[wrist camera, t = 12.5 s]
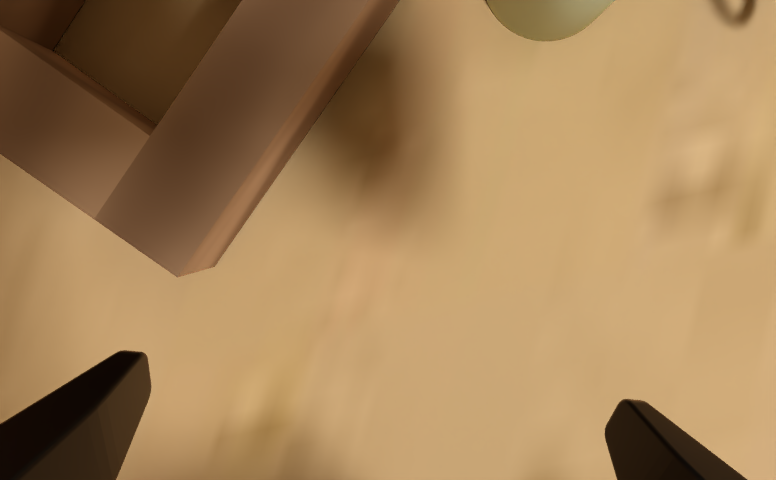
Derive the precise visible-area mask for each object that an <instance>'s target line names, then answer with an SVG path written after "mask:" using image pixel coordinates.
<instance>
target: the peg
mask: <svg viewBox="0 0 776 480" xmlns="http://www.w3.org/2000/svg"><path fill="white" fill-rule="evenodd" d="M486 1H487V3H488V5H489V7H490V9H491V11H492V12H493V14H494V15H495V16H496V18H497V19H498V20H499V21H500V22H501V23H502V24H503V25H504V26H505V27H506V28H508V29H509V30H510V31H512V32H514V33H516V34H517V35H519V36H522V37H524V38H527V39H531V40H536V41H555V40H561V39H564V38H568V37H570V36H572V35H575V34H577V33H578V32H580V31H582V30H583V29H585V28H586V27H587V26H588V25H590V24H591V23H592V22H593V21H594V20H595V19H596V18H597V17H598V16H599V15H600V14H601V13H602V12H603V11H604V10H605V9H607V8H608V7H609V6H610V5H611V4H612V3H613V2H614V1H615V0H486Z"/></svg>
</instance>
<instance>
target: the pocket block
mask: <svg viewBox="0 0 776 480" xmlns="http://www.w3.org/2000/svg"><path fill="white" fill-rule="evenodd" d="M84 2H85V0H0V154H2V155H3V156H4V157H6V158H7V159H9V160H10V161H12V162H13V163H14V164H16V165H17V166H19V167H20V168H22V169H23V170H24V171H26V172H27V173H29V174H30V175H32V176H33V177H34V178H36V179H37V180H39V181H40V182H42V183H43V184H45V185H46V186H47V187H49V188H50V189H52V190H53V191H55V192H56V193H57V194H59V195H60V196H62V197H63V198H65V199H66V200H67V201H69V202H70V203H72V204H73V205H75V206H76V207H77V208H79V209H80V210H82V211H83V212H85V213H86V214H87V215H89V216H90V217H92V218H93V219H95V220H96V221H98V222H99V223H100V224H102V225H103V226H105V227H106V228H108V229H109V230H110V231H112V232H113V233H115V234H116V235H118V236H119V237H120V238H122V239H123V240H125V241H126V242H128V243H129V244H130V245H132V246H133V247H135V248H136V249H138V250H139V251H140V252H142V253H143V254H145V255H146V256H148V257H149V258H151V259H152V260H153V261H155V262H156V263H158V264H159V265H161V266H162V267H163V268H165V269H166V270H168V271H169V272H171V273H172V274H173V275H175V276H176V277H180V276H184V275H187V274H191V273H194V272H197V271H201V270H204V269H208V268H211V267H214V266H215V265H216V264H217V262H218V261H219V259H220V258H221V256H222V255H223V254H224V252H225V251H226V249H227V248H228V246H229V245H230V243H231V242H232V241H233V239H234V238H235V236H236V235H237V233H238V232H239V231H240V229H241V228H242V226H243V225H244V223H245V222H246V220H247V219H248V218H249V216H250V215H251V213H252V212H253V210H254V209H255V208H256V206H257V205H258V203H259V202H260V200H261V199H262V197H263V196H264V195H265V193H266V192H267V190H268V189H269V187H270V186H271V184H272V183H273V182H274V180H275V179H276V177H277V176H278V174H279V173H280V172H281V170H282V169H283V167H284V166H285V164H286V163H287V161H288V160H289V159H290V157H291V156H292V154H293V153H294V151H295V150H296V149H297V147H298V146H299V144H300V143H301V141H302V140H303V138H304V137H305V136H306V134H307V133H308V131H309V130H310V128H311V127H312V126H313V124H314V123H315V121H316V120H317V118H318V117H319V115H320V114H321V113H322V111H323V110H324V108H325V107H326V105H327V104H328V103H329V101H330V100H331V98H332V97H333V95H334V94H335V92H336V91H337V90H338V88H339V87H340V85H341V84H342V82H343V81H344V79H345V78H346V77H347V75H348V74H349V72H350V71H351V69H352V68H353V67H354V65H355V64H356V62H357V61H358V59H359V58H360V56H361V55H362V54H363V52H364V51H365V49H366V48H367V46H368V45H369V44H370V42H371V41H372V39H373V38H374V36H375V35H376V33H377V32H378V31H379V29H380V28H381V26H382V25H383V23H384V22H385V21H386V19H387V18H388V16H389V15H390V13H391V12H392V10H393V9H394V8H395V6H396V5H397V3H398V2H399V0H242V1H241V2H240V4H239V5H238V7H237V8H236V10H235V11H234V13H233V14H232V15H231V17H230V18H229V20H228V21H227V23H226V24H225V26H224V27H223V29H222V30H221V32H220V33H219V35H218V36H217V38H216V39H215V41H214V42H213V44H212V45H211V47H210V48H209V50H208V51H207V53H206V54H205V55H204V57H203V58H202V60H201V61H200V63H199V64H198V66H197V67H196V69H195V70H194V72H193V73H192V75H191V76H190V78H189V79H188V81H187V82H186V84H185V85H184V87H183V88H182V90H181V91H180V93H179V94H178V95H177V97H176V98H175V100H174V101H173V103H172V104H171V106H170V107H169V109H168V110H167V112H166V113H165V115H164V116H163V118H162V119H161V121H160V122H159V124H158V125H156V124H155V123H153V122H152V121H150V120H149V119H148V118H146V117H145V116H143V115H142V114H141V113H139V112H138V111H136V110H135V109H134V108H132V107H131V106H129V105H128V104H126V103H125V102H124V101H122V100H121V99H119V98H118V97H117V96H115V95H114V94H112V93H111V92H110V91H108V90H107V89H105V88H104V87H103V86H101V85H100V84H98V83H97V82H95V81H94V80H93V79H91V78H90V77H88V76H87V75H86V74H84V73H83V72H81V71H80V70H79V69H77V68H76V67H74V66H73V65H72V64H70V63H69V62H67V61H66V60H64V59H63V58H62V57H60V56H59V55H57V54H56V53H55V52H53V51H52V50H53V49H54V47H55V46H56V44H57V43H58V41H59V40H60V38H61V37H62V35H63V34H64V32H65V31H66V29H67V28H68V26H69V24H70V23H71V21H72V20H73V18H74V17H75V15H76V14H77V12H78V11H79V9H80V8H81V6H82V5H83V3H84Z"/></svg>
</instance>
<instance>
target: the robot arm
mask: <svg viewBox="0 0 776 480" xmlns="http://www.w3.org/2000/svg"><path fill="white" fill-rule="evenodd" d="M150 393H151V380H150V372H149V364H148V358H147V355H146V354H145V353H143V352H136V351H126V350H123V351H119V352H117V353H115V354H113V355H112V356H110V357H108V358H107V359H105V360H104V361H102V362H100V363H99V364H97V365H95V366H94V367H92V368H91V369H89V370H87V371H86V372H84V373H82V374H81V375H79V376H78V377H76V378H74V379H73V380H71V381H69V382H68V383H66V384H65V385H63V386H61V387H60V388H58V389H56V390H55V391H53V392H52V393H50V394H48V395H47V396H45V397H43V398H42V399H40V400H39V401H37V402H35V403H34V404H32V405H30V406H29V407H27V408H26V409H24V410H22V411H21V412H19V413H17V414H16V415H14V416H13V417H11V418H9V419H8V420H6V421H4V422H3V423H1V424H0V480H116V478H117V476H118V474H119V471H120V469H121V466H122V464H123V462H124V459H125V457H126V454H127V452H128V449H129V447H130V444H131V442H132V439H133V437H134V434H135V432H136V429H137V427H138V424H139V422H140V419H141V417H142V415H143V412H144V410H145V407H146V405H147V402H148V400H149V397H150ZM605 439H606V443H607V446H608V450H609V453H610V457H611V460H612V463H613V467H614V470H615V474H616V477H617V480H747V479H746V478H745V477H743V476H742V475H741V474H739V473H738V472H737V471H735V470H734V469H733V468H731V467H730V466H729V465H728V464H726V463H725V462H724V461H722V460H721V459H720V458H718V457H717V456H716V455H715V454H713V453H712V452H711V451H709V450H708V449H707V448H705V447H704V446H703V445H701V444H700V443H699V442H698V441H696V440H695V439H694V438H692V437H691V436H690V435H688V434H687V433H686V432H685V431H683V430H682V429H681V428H679V427H678V426H677V425H675V424H674V423H673V422H672V421H670V420H669V419H668V418H666V417H665V416H664V415H662V414H661V413H660V412H658V411H657V410H656V409H655V408H653V407H652V406H651V405H649V404H648V403H647V402H644V401H641V400H631V399H623V400H622V401H620V402H619V404H618V405H617V407H616V409H615V411H614V412H613V414H612V416H611V418H610V419H609V421H608V423H607V425H606V428H605Z"/></svg>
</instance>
